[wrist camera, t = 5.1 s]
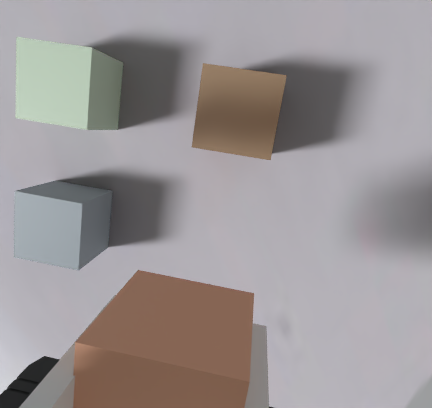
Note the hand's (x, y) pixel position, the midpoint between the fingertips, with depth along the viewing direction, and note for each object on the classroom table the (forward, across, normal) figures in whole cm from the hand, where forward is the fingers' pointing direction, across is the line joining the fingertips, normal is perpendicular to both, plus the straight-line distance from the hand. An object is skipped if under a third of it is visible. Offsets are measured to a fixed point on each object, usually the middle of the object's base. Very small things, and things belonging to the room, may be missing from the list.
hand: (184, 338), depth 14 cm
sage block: (+14, -12, +10) cm, 21 cm away
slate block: (+14, -12, 0) cm, 18 cm away
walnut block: (+14, 0, +10) cm, 17 cm away
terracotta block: (0, 0, 0) cm, 0 cm away
